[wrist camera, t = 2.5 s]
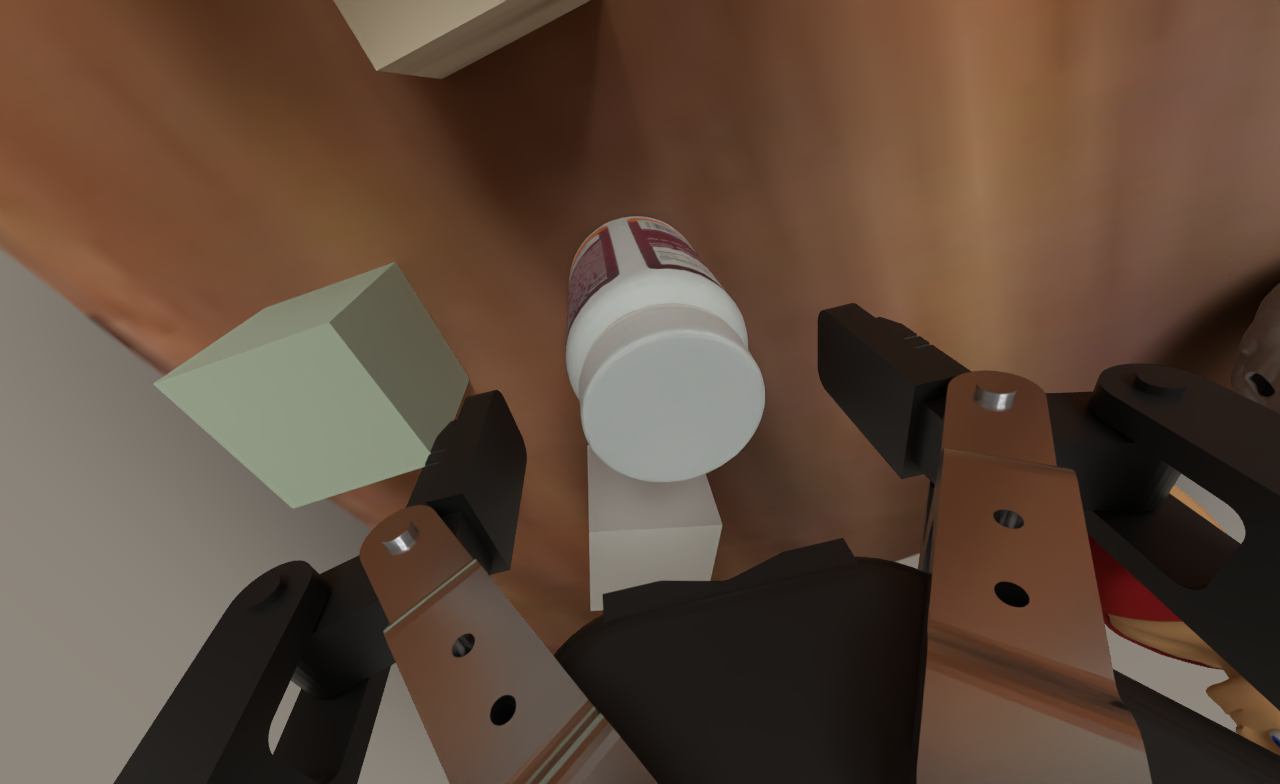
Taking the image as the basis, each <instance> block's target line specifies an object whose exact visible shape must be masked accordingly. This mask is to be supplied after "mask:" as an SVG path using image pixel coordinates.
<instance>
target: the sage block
mask: <svg viewBox="0 0 1280 784" xmlns="http://www.w3.org/2000/svg"><path fill="white" fill-rule="evenodd" d="M469 380H470V379H469V377H468V376H467V374H466V373H465V371H464V369H463V368H462V366H461V365H460V363H459V362H458V360H457V358H456V357H455V355H454V354H453V352H452V350H451V349H450V347H449V346H448V344H447V342H446V341H445V339H444V338H443V336H442V334H441V333H440V331H439V330H438V328H437V326H436V325H435V323H434V322H433V320H432V318H431V317H430V315H429V314H428V312H427V310H426V309H425V307H424V306H423V304H422V302H421V301H420V299H419V298H418V296H417V295H416V293H415V291H414V290H413V288H412V287H411V285H410V283H409V282H408V280H407V279H406V277H405V275H404V274H403V272H402V271H401V269H400V267H399V266H398V264H397V263H396V262H393V263H390V264H387V265H385V266H382V267H379V268H376V269H373V270H371V271H368V272H365V273H362V274H359V275H357V276H354V277H351V278H348V279H345V280H342V281H340V282H337V283H334V284H331V285H328V286H326V287H323V288H320V289H317V290H314V291H312V292H309V293H306V294H303V295H300V296H298V297H295V298H292V299H289V300H286V301H283V302H281V303H278V304H275V305H272V306H269V307H267V308H264V309H263V310H261V311H260V312H258V313H257V314H255V315H254V316H252V317H251V318H249V319H248V320H246V321H245V322H243V323H242V324H240V325H239V326H238V327H236V328H235V329H233V330H232V331H230V332H229V333H227V334H226V335H224V336H223V337H221V338H220V339H218V340H217V341H215V342H214V343H212V344H211V345H209V346H208V347H207V348H205V349H204V350H202V351H201V352H199V353H198V354H196V355H195V356H193V357H192V358H190V359H189V360H187V361H186V362H184V363H183V364H181V365H180V366H179V367H177V368H176V369H174V370H173V371H171V372H170V373H168V374H167V375H165V376H164V377H162V378H161V379H159V380H158V381H156V382H155V383H153V384H154V385H155V386H156V387H157V388H158V389H159V390H160V391H161V392H162V393H164V394H165V395H166V396H167V397H168V398H169V399H170V400H171V401H173V402H174V403H175V404H176V405H177V406H178V407H179V408H180V409H181V410H183V411H184V412H185V413H186V414H187V415H188V416H189V417H190V418H192V419H193V420H194V421H195V422H196V423H197V424H198V425H199V426H201V427H202V428H203V429H204V430H205V431H206V432H207V433H208V434H210V435H211V436H212V437H213V438H214V439H215V440H216V441H217V442H219V443H220V444H221V445H222V446H223V447H224V448H225V449H226V450H227V451H229V452H230V453H231V454H232V455H233V456H234V457H235V458H236V459H238V460H239V461H240V462H241V463H242V464H243V465H244V466H245V467H246V468H248V469H249V470H250V471H251V472H252V473H253V474H254V475H255V476H257V477H258V478H259V479H260V480H261V481H262V482H263V483H264V484H266V485H267V486H268V487H269V488H270V489H271V490H272V491H274V492H275V493H276V494H277V495H278V496H279V497H280V498H281V499H282V500H284V501H285V502H286V503H287V504H288V505H289V506H290V507H291V508H293V509H294V508H297V507H300V506H303V505H306V504H309V503H312V502H316V501H319V500H322V499H325V498H328V497H331V496H335V495H338V494H341V493H344V492H347V491H350V490H353V489H356V488H360V487H363V486H366V485H369V484H372V483H375V482H378V481H382V480H385V479H388V478H391V477H394V476H397V475H400V474H403V473H407V472H410V471H413V470H416V469H419V468H422V467H425V463H426V460H427V458H428V456H429V455H430V454H431V452H430V451H431V449H432V446H433V444H434V442H435V440H436V437H437V436H438V435H439V434H440V432H441V431H442V430H443V429H444V428H445V427H446V426H447V425H448V424H449V423H450V422H451V421H454V419H455V416H456V414H457V411H458V409H459V406H460V403H461V401H462V398H463V396H464V393H465V390H466V388H467V385H468V383H469Z"/></svg>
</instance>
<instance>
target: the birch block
mask: <svg viewBox="0 0 1280 784" xmlns="http://www.w3.org/2000/svg"><path fill="white" fill-rule="evenodd" d="M589 1H591V0H334V2H335V4H336V5H337V7H338V9H339V10H340V12H341V14H342V15H343V17H344V19H345V20H346V22H347V23H348V25H349V27H350V28H351V30H352V32H353V33H354V35H355V37H356V38H357V40H358V41H359V43H360V45H361V46H362V48H363V50H364V51H365V53H366V55H367V56H368V58H369V60H370V61H371V63H372V64H373V66H374V68H375V69H376V71H381V72H389V73H397V74H405V75H413V76H421V77H429V78H437V79H443V78H445V77H447V76H449V75H451V74H453V73H455V72H456V71H458V70H460V69H462V68H464V67H466V66H468V65H470V64H472V63H473V62H475V61H477V60H479V59H481V58H483V57H485V56H487V55H489V54H490V53H492V52H494V51H496V50H498V49H500V48H502V47H504V46H506V45H507V44H509V43H511V42H513V41H515V40H517V39H519V38H521V37H523V36H524V35H526V34H528V33H530V32H532V31H534V30H536V29H538V28H540V27H541V26H543V25H545V24H547V23H549V22H551V21H553V20H555V19H557V18H558V17H560V16H562V15H564V14H566V13H568V12H570V11H572V10H574V9H575V8H577V7H579V6H581V5H583V4H585V3H587V2H589Z"/></svg>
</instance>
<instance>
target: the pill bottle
mask: <svg viewBox="0 0 1280 784" xmlns="http://www.w3.org/2000/svg"><path fill="white" fill-rule="evenodd" d="M565 352H566V355H565V356H566V367H567V372H568V375H569V380H570V383H571V386H572V388H573V390H574V392H575V394H576V396H577V398H578V399H579V401H580V414H581V422H582V428H583V431H584V434H585V437H586V439H587V441H588V443H589V445H590V447H591V449H592V450H593V451H594V453H595V454H596V455H597V456H598V457H599V458H600V459H601V460H602V461H603V462H604V463H605V464H606V465H608V466H609V467H610V468H612V469H613V470H615V471H617V472H619V473H621V474H623V475H625V476H628V477H631V478H634V479H638V480H642V481H648V482H676V481H683V480H688V479H691V478H695V477H698V476H700V475H703V474H706V473H708V472H710V471H712V470H714V469H716V468H718V467H720V466H722V465H723V464H725V463H726V462H728V461H729V460H730V459H732V458H733V457H734V456H735V455H737V454H738V453H739V452H740V451H741V450H742V449H743V448H744V447H745V445H746V444H747V443H748V441H749V440H750V439H751V438H752V436H753V434H754V433H755V431H756V429H757V427H758V425H759V423H760V420H761V418H762V415H763V410H764V406H765V387H764V382H763V378H762V375H761V371H760V369H759V367H758V365H757V364H756V362H755V360H754V359H753V357H752V356H751V354H750V352H749V351H748V337H747V330H746V326H745V323H744V319H743V316H742V314H741V312H740V310H739V308H738V307H737V305H736V303H735V301H734V300H733V299H732V297H731V296H730V295H729V294H728V293H727V292H726V291H725V289H724V288H723V287H722V286H721V284H720V283H719V282H718V281H717V279H716V278H715V277H714V276H713V274H712V273H711V272H710V270H709V269H708V268H707V267H706V265H705V264H704V263H703V262H702V260H701V259H700V258H699V256H698V254H697V253H696V252H695V251H694V249H693V248H692V247H691V245H690V244H689V243H688V241H687V240H686V239H685V238H684V237H683V236H682V235H681V234H680V233H679V232H678V231H677V230H675V229H674V228H673V227H671V226H670V225H668V224H666V223H665V222H662V221H660V220H657V219H654V218H650V217H643V216H630V217H623V218H619V219H616V220H612V221H610V222H608V223H606V224H603V225H602V226H600V227H599V228H598V229H596V230H595V231H594V232H592V233H591V234H590V235H589V236H588V237H587V238H586V239H585V241H584V242H583V243H582V245H581V246H580V248H579V249H578V251H577V253H576V255H575V257H574V260H573V262H572V266H571V270H570V277H569V294H568V317H567V338H566V349H565Z"/></svg>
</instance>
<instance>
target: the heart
mask: <svg viewBox="0 0 1280 784" xmlns="http://www.w3.org/2000/svg"><path fill="white" fill-rule="evenodd" d="M1230 257H1231V256H1230ZM1229 275H1230V274H1229ZM1250 276H1251V275H1250ZM1241 285H1242V284H1241ZM1248 287H1249V286H1248ZM1239 291H1240V290H1239ZM1229 300H1230V299H1229ZM1230 305H1231V304H1230ZM1218 306H1219V305H1218ZM1223 306H1224V305H1223ZM1225 317H1226V316H1225ZM1235 317H1236V316H1235ZM1239 350H1240V351H1241V354H1240V355H1239V357H1238V359H1237V361H1236V363H1235V365H1234V368H1233V371H1232V376H1231V382H1232V387H1233V390H1234V392H1235V393H1237V394H1240V395H1242V396H1244V397H1246V398H1248V399H1250V400H1252V401H1254V402H1256V403H1258V404H1261V405H1263V406H1265V407H1267V408H1269V409H1271V410H1273V411H1275V412H1277V413H1279V414H1280V283H1279V284H1278V285H1277V286H1275V287H1274V288H1273V289H1272V290H1271V291H1270V292H1269V293H1268V294H1267V295H1266V297H1265V298H1264V299H1263V300H1262V302H1261V304H1260V306H1259V308H1258V310H1257V312H1256V315H1255V318H1254V321H1253V323H1252V324H1250V326H1249V327H1248V329H1247V330H1246V331H1245V333H1244V335H1243V337H1242V339H1241V342H1240V345H1239Z"/></svg>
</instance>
